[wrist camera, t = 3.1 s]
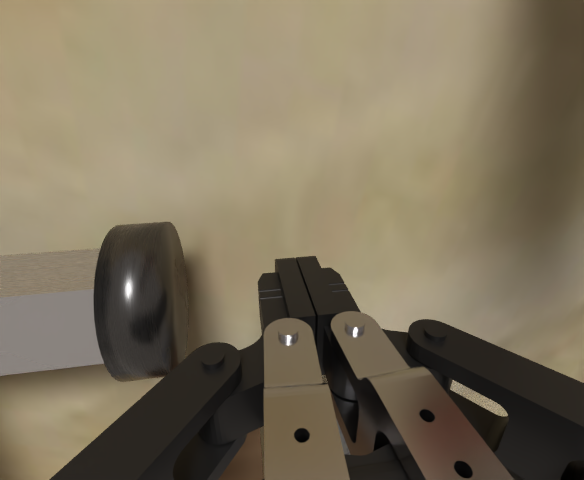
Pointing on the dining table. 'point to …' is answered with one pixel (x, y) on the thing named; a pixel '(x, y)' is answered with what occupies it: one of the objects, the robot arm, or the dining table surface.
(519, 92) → the dining table surface
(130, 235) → the shaft
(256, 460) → the block
